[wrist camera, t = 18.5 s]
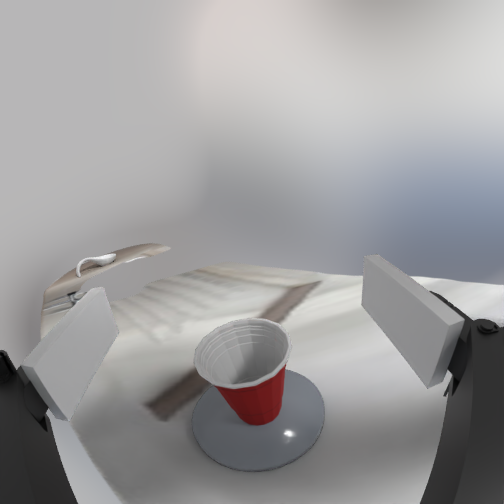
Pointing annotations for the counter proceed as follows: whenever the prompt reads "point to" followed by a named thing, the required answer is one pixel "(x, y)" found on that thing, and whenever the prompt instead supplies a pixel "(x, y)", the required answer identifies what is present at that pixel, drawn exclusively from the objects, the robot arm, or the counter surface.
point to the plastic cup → (247, 366)
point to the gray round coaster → (260, 428)
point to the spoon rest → (97, 261)
